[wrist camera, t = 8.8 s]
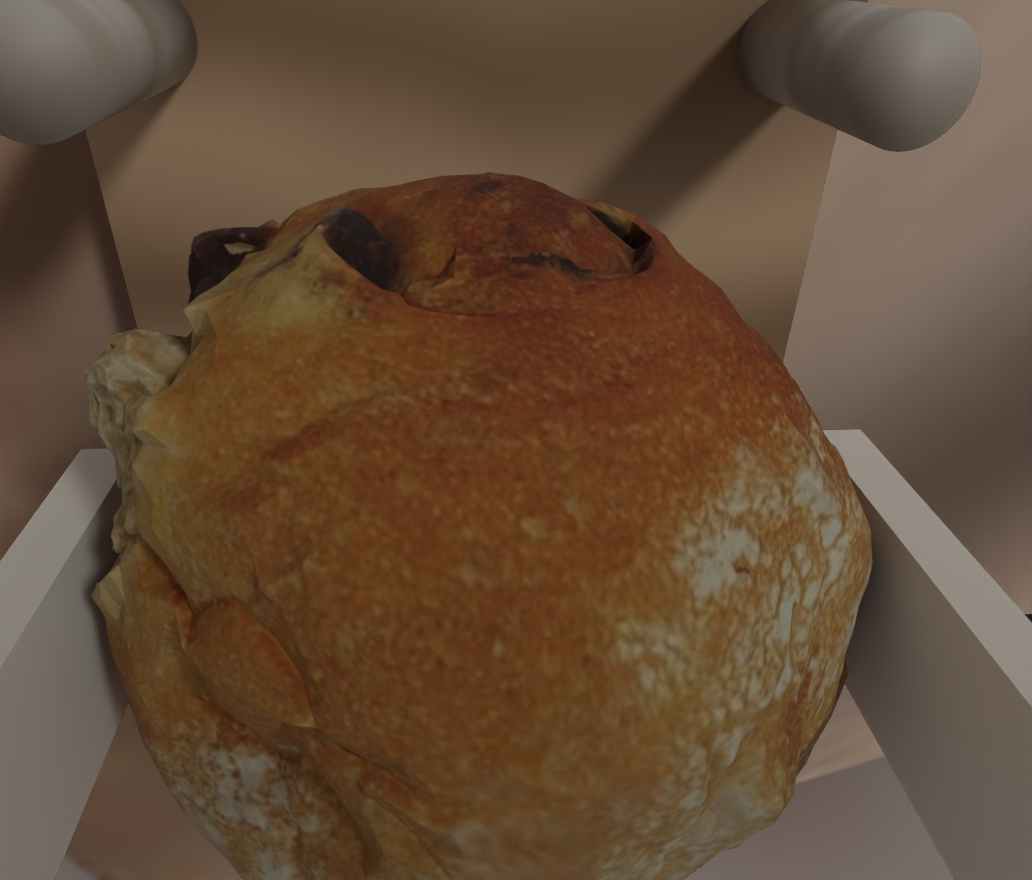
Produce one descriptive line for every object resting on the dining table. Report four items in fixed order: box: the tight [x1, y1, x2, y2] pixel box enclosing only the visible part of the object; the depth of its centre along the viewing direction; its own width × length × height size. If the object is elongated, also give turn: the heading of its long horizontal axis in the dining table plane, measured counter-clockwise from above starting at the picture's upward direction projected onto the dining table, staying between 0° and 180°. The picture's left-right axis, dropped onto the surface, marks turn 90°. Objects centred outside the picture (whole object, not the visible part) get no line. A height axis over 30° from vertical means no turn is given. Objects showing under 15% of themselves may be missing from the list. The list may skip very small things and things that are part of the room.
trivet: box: [0, 0, 981, 362], centre depth 16 cm, size 15×15×6 cm
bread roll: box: [84, 172, 873, 880], centre depth 10 cm, size 10×10×8 cm
